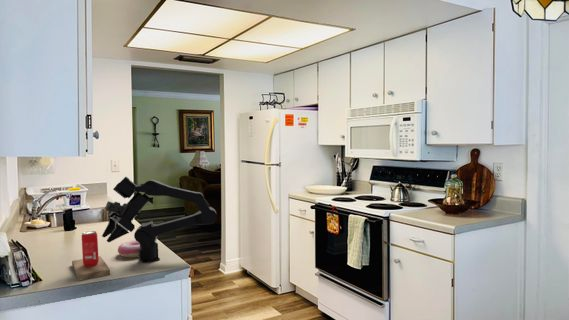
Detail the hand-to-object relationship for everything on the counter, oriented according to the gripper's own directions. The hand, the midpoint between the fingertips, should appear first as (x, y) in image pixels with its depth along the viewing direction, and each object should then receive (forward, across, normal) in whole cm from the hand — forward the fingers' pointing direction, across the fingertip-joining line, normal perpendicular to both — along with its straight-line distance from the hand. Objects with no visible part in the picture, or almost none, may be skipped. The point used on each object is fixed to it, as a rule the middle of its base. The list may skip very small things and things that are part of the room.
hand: (105, 239), depth 150 cm
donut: (-1, -11, +17) cm, 20 cm away
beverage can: (+10, 0, +3) cm, 10 cm away
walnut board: (+11, 0, +4) cm, 12 cm away
